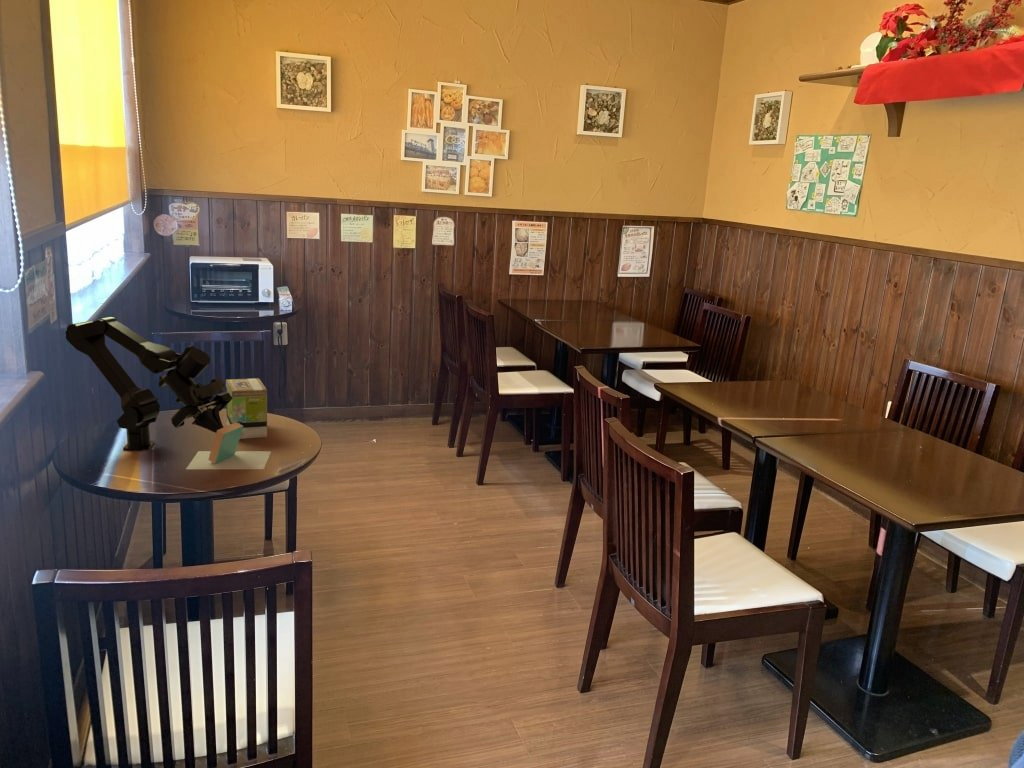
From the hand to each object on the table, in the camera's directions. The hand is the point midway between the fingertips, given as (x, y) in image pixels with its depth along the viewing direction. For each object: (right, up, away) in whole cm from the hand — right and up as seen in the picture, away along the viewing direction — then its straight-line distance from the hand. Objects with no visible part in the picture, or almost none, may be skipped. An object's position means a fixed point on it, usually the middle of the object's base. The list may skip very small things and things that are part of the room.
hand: (223, 434), depth 203 cm
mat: (+1, -7, +1) cm, 8 cm away
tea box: (-3, -1, +26) cm, 27 cm away
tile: (-1, -6, +2) cm, 7 cm away
